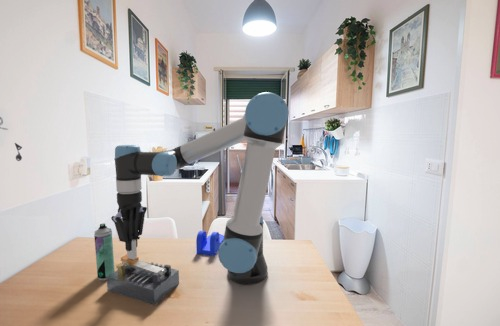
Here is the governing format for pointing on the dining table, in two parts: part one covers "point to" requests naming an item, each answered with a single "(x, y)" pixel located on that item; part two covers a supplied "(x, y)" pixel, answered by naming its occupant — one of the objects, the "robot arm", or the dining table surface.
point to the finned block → (142, 283)
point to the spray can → (104, 252)
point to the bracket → (208, 243)
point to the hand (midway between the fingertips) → (132, 257)
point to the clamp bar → (143, 266)
